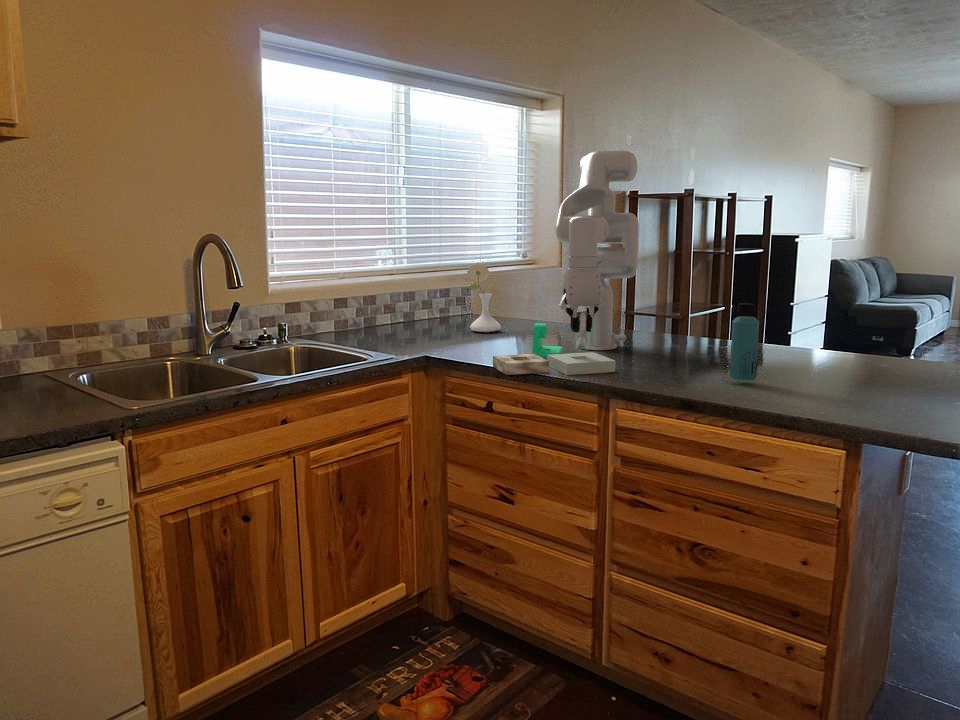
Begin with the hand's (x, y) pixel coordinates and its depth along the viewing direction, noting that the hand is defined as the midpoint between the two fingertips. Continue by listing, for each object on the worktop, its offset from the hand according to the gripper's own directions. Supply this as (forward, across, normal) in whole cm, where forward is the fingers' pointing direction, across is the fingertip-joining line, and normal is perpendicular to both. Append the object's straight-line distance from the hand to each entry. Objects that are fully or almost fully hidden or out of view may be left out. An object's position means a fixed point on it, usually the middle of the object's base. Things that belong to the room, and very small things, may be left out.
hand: (581, 330), depth 203 cm
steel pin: (+5, 0, 0) cm, 5 cm away
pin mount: (+10, +16, -4) cm, 20 cm away
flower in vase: (+10, +5, -75) cm, 76 cm away
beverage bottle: (+11, -30, +30) cm, 44 cm away
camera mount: (+11, +2, -19) cm, 22 cm away
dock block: (+10, 0, 0) cm, 10 cm away
